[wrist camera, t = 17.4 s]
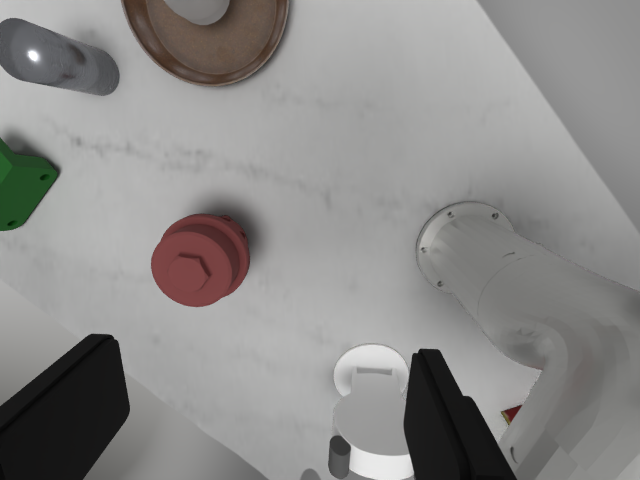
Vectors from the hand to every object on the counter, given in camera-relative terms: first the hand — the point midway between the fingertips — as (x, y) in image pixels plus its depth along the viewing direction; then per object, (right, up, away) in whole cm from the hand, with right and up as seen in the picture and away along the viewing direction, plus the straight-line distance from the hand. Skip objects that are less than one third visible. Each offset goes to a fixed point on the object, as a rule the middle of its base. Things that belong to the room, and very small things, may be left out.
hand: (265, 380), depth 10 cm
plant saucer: (-10, +31, +26) cm, 42 cm away
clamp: (-38, +12, +33) cm, 51 cm away
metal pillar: (-24, +24, +28) cm, 45 cm away
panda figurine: (+9, -16, +40) cm, 44 cm away
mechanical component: (-11, +5, +34) cm, 36 cm away
